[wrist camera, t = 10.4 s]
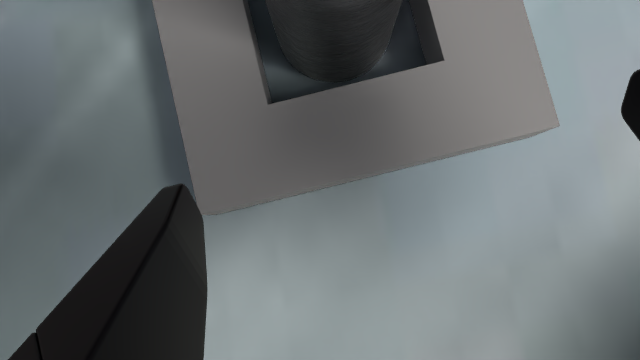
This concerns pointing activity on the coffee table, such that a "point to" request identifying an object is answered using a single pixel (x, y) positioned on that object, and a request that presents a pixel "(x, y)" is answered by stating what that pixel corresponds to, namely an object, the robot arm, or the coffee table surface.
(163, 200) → the robot arm
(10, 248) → the coffee table surface
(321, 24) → the grey peg
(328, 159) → the hole board
